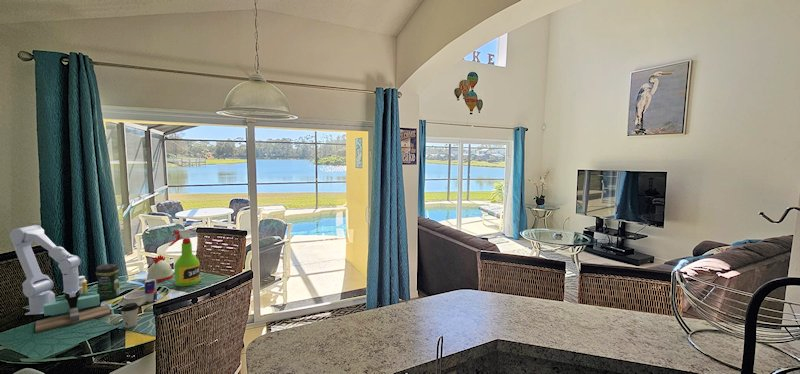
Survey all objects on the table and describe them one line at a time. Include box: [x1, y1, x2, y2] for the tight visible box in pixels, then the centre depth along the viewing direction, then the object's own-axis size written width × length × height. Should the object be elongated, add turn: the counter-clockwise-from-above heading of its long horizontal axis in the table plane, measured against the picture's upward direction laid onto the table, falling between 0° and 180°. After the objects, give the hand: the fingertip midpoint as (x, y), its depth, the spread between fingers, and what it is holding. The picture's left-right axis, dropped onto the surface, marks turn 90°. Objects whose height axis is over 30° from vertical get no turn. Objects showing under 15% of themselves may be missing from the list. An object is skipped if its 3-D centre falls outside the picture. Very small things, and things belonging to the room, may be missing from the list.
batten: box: [44, 293, 101, 317], centre depth 172 cm, size 20×4×5 cm, turn 130°
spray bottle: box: [168, 229, 201, 287], centre depth 210 cm, size 14×18×35 cm
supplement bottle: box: [78, 275, 88, 295], centre depth 194 cm, size 5×5×10 cm
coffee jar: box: [95, 263, 121, 300], centre depth 190 cm, size 10×8×19 cm
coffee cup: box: [119, 302, 140, 329], centre depth 160 cm, size 7×7×10 cm
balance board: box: [34, 304, 112, 333], centre depth 166 cm, size 12×26×4 cm, turn 136°
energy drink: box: [143, 278, 158, 303], centre depth 186 cm, size 5×5×12 cm
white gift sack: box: [146, 254, 174, 283], centre depth 219 cm, size 14×14×15 cm
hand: (73, 306), depth 172 cm, fingers closed on batten, 4 cm apart
